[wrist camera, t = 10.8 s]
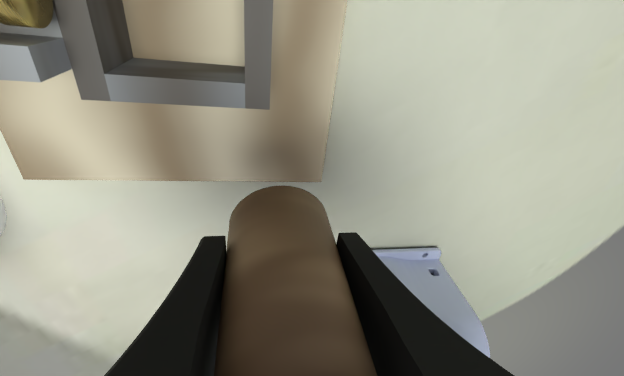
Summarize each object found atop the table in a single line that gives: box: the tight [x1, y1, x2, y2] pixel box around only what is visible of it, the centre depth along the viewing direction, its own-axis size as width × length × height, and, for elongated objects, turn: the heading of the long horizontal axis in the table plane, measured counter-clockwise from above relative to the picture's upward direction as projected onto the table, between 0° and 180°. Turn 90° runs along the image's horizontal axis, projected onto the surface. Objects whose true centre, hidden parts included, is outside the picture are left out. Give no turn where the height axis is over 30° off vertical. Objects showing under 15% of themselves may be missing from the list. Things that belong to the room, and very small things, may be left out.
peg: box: [214, 186, 377, 376], centre depth 9 cm, size 4×4×6 cm
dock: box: [0, 0, 347, 182], centre depth 12 cm, size 16×14×6 cm
